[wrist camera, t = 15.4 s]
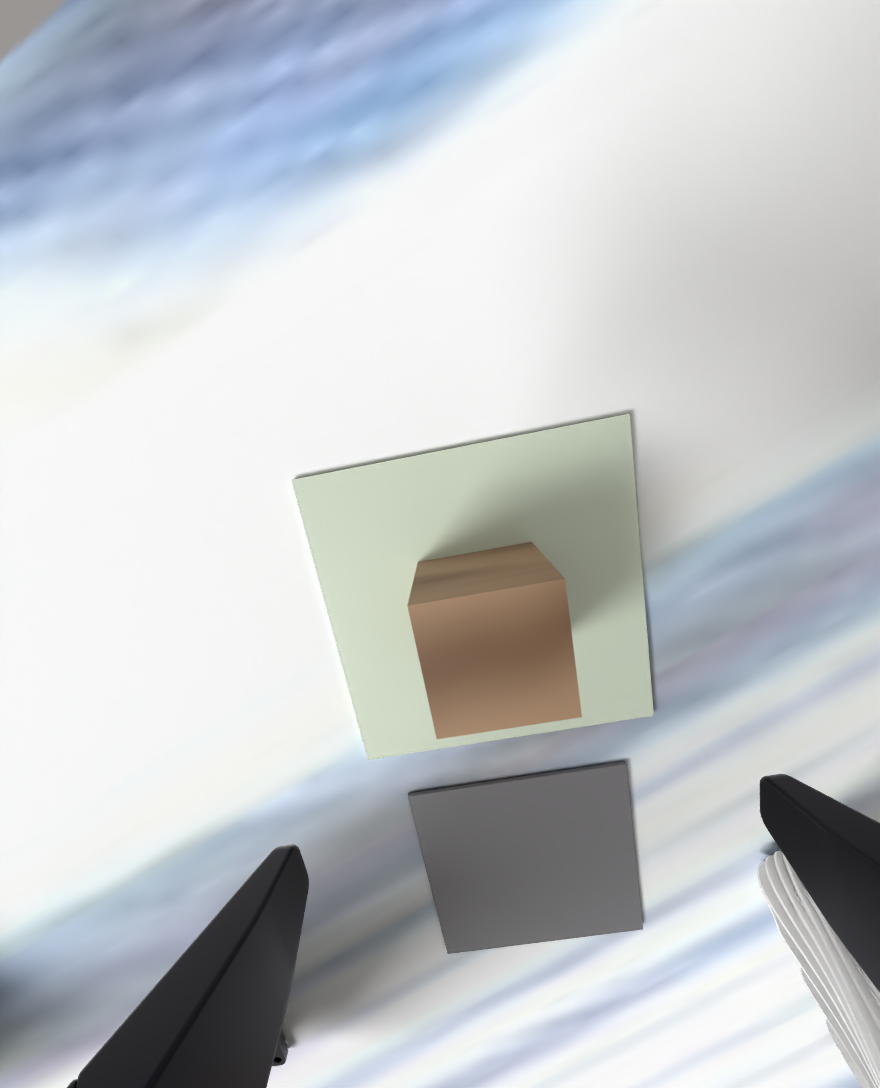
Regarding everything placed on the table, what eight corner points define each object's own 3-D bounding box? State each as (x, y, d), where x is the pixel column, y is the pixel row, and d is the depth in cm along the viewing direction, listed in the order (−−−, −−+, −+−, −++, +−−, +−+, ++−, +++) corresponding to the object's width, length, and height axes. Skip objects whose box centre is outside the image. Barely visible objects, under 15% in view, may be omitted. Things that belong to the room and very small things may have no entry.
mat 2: (641, 925, 23) (643, 929, 23) (447, 949, 23) (447, 953, 23) (624, 760, 20) (626, 764, 20) (408, 793, 21) (408, 796, 21)
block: (546, 646, 19) (582, 717, 14) (438, 663, 19) (436, 739, 14) (531, 541, 17) (565, 578, 13) (417, 561, 18) (407, 605, 13)
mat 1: (651, 713, 20) (653, 715, 19) (368, 756, 20) (367, 759, 20) (627, 413, 16) (630, 413, 16) (293, 479, 17) (291, 480, 17)
